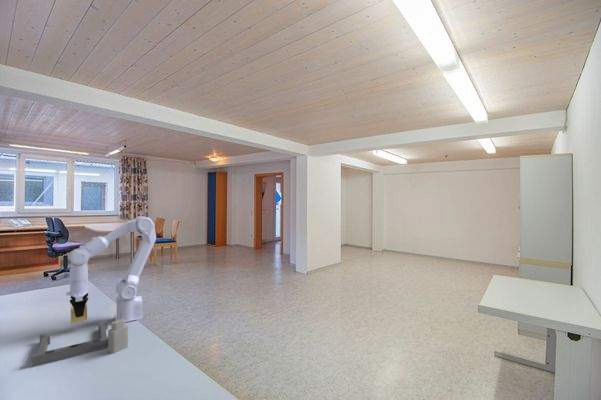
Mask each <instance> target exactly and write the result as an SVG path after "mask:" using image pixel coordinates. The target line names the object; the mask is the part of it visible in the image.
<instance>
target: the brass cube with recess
mask: <svg viewBox="0 0 601 400" xmlns="http://www.w3.org/2000/svg"><path fill="white" fill-rule="evenodd" d="M84 321H88V304H87V303H86V305H85V309H84V314H83V316H82V317H77V318H76V316H75V312H74V308H73V306H70V324H74V323H80V322H84Z"/></svg>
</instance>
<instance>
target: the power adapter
mask: <svg viewBox="0 0 601 400" xmlns="http://www.w3.org/2000/svg"><path fill="white" fill-rule="evenodd" d="M116 317H117V314H115V315H114V321H112V322H111V324H110V326H111V329H107V333H108V334H107V337H108V348H107V351H108V352H107V353H109V354H116V353H118V352H121V351H123V350H125V349H126V348H128V347H129V346H128V345H129V325H127V324H126V322H125V319H121V313H120V319H119V320H116Z"/></svg>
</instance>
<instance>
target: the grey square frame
mask: <svg viewBox="0 0 601 400" xmlns="http://www.w3.org/2000/svg"><path fill="white" fill-rule="evenodd" d="M108 326H109V321H108V320H104V321H102V322H101V323H99V324H98V326H97V327H98V330H97V331H98V334H99V337H100V338H97V339H93V340H89V341H85V342H80V343H76V344H71V345H67V346H63V347H58V348H55V349H50V350H48V347H49V345H51V335H49V334H48V333H41V334H39V347H38V350H37V352H36V353H34V354H32V356H31V368H34V367H38V366H42V365H46V364H50V363H52V362H53V363H54V362H58V361H60V360H65V359H69V358H70V359H71V358H73V357H77V356H80V355H81V356H82V355H86V354H90V353H94V352H97V351H102V350H106V349H108V334H107V330H109V329H108Z"/></svg>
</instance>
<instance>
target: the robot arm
mask: <svg viewBox="0 0 601 400" xmlns="http://www.w3.org/2000/svg"><path fill="white" fill-rule="evenodd" d="M155 227H156V224H155V223H154V221H153V220H152V219H151V217H148V216H143V215H139V216H136V217H135V218H133V219H130V220H129V221H126V222H124V223H123V224H122V225H120V226H119V227H116V228H115V229H113V230H112V231H111V232H110V233H108V234H106V235H105V236H97V237H95V236H93V237H92V238H91V240H90V241H88V242H87V243H85V244H83V245H78V248H76V249H73V250H72V251H71V252H70V253H69V256H68V259H69V261H70V263H69V292H65V295H66V296H70V299H69V303H70V305H71V307H73V308H74V312H75V316H76V318H77V317H82V316H83V314H84V309H85V305H86V304H87V303H88V301H89V297H88V296H89V292H90V289H89V266H88V262H89V259H90V258H93V257H95V256H97V255H98V254H99V253H101V252H103V251H104V250H107V248H108V247H109V244H110V243H111V242H113V241H115V240H117V239H119V238H120V237H122V236H123V235H125V234H127V233H131V232H133V233H135V232H138V233H139V234H140V236H141V238H142V240H141V242H140V245H139V246H138V249H137V251H136V253H135V254H134V255H135V256H134V258H133V259H132V262H131V264H130V266H129V268H128V269H127V272H126V274H125V275H124V276H123V277H122V280H120V282H119V283H117V285H116V289H115V290H116V292H117V294H118V296H117V297H116V320H119V319H120V313H121V319H125V323H129V322H133V321H137V320H142V319H143V298H142V296H141V295H138V296H137V293H138V285H139V279H140V276H141V273H142V271H143V269H144V267H145V265H146V263H147V261H148V258H149V257H150V254H151V252H152V249H153V248H154V244H155V242H156V241H157V234H156V228H155ZM132 317H133V318H132Z"/></svg>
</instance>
